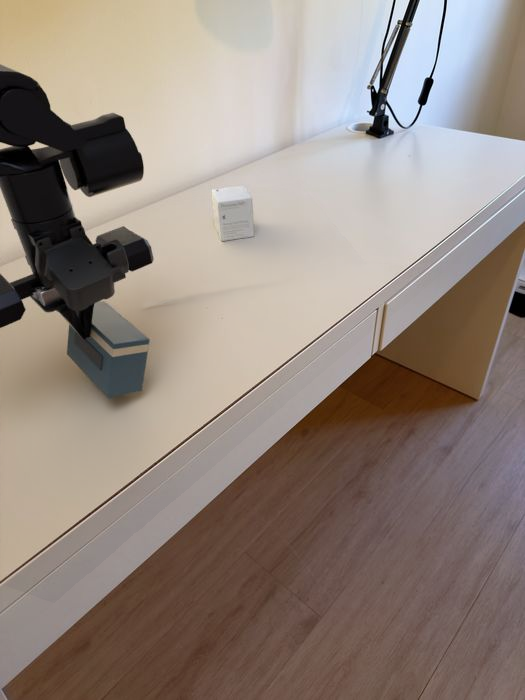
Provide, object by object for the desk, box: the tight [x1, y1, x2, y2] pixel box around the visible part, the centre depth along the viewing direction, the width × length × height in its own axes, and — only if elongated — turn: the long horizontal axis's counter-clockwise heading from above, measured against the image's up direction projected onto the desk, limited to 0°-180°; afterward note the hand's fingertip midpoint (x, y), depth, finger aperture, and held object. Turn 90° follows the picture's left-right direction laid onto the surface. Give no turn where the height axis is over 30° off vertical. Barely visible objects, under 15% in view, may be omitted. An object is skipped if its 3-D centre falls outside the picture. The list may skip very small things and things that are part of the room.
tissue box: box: [66, 300, 150, 399], centre depth 64 cm, size 11×5×7 cm, turn 41°
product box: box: [211, 185, 255, 242], centre depth 93 cm, size 6×6×7 cm
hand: (85, 337), depth 61 cm, fingers closed
